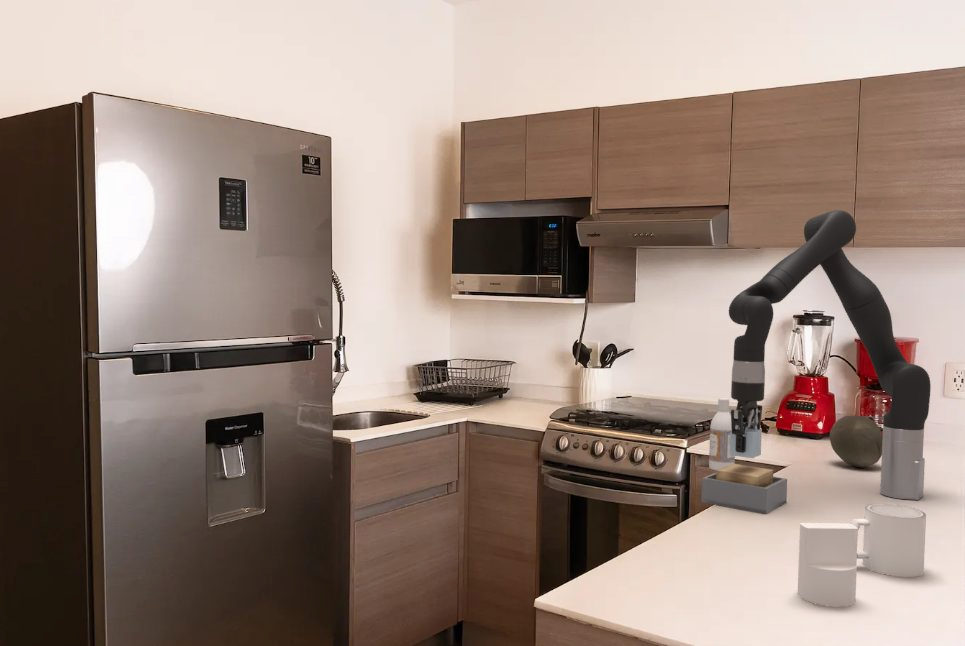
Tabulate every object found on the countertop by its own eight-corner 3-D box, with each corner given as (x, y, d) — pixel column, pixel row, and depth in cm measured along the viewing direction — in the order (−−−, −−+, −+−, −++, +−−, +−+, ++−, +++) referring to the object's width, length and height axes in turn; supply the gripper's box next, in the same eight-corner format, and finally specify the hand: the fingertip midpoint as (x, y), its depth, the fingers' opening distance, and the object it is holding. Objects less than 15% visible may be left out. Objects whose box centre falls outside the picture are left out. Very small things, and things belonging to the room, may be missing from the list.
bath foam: (704, 466, 242) (706, 397, 241) (725, 465, 244) (727, 396, 243) (717, 472, 235) (720, 400, 234) (739, 471, 237) (741, 400, 236)
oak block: (772, 498, 203) (773, 469, 203) (756, 506, 196) (758, 476, 195) (732, 491, 210) (733, 463, 209) (715, 499, 202) (716, 470, 202)
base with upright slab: (840, 587, 146) (842, 518, 146) (865, 607, 137) (868, 534, 137) (788, 586, 146) (791, 518, 145) (810, 606, 137) (813, 533, 136)
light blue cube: (760, 454, 203) (761, 430, 202) (752, 458, 198) (753, 432, 198) (738, 451, 206) (739, 427, 206) (729, 454, 202) (730, 429, 202)
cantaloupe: (872, 462, 252) (874, 412, 251) (890, 473, 238) (892, 420, 237) (823, 461, 253) (825, 411, 253) (838, 471, 239) (840, 418, 239)
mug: (864, 578, 151) (866, 519, 151) (835, 559, 161) (837, 504, 161) (935, 576, 153) (938, 518, 152) (902, 558, 163) (904, 503, 162)
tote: (786, 502, 203) (787, 478, 203) (766, 514, 193) (766, 488, 192) (724, 491, 213) (724, 468, 213) (701, 502, 202) (702, 478, 202)
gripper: (752, 383, 193) (749, 457, 194) (774, 378, 205) (771, 448, 205) (720, 380, 198) (718, 452, 199) (744, 376, 209) (741, 444, 210)
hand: (745, 450), depth 202 cm, fingers closed on light blue cube, 5 cm apart
